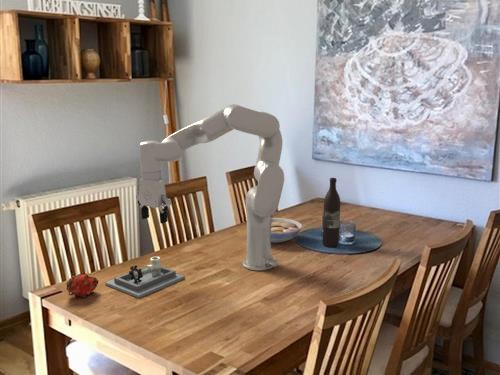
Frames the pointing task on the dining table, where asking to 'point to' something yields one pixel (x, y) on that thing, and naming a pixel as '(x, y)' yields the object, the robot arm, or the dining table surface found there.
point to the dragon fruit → (81, 285)
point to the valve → (147, 270)
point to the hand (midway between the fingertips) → (154, 220)
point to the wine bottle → (331, 216)
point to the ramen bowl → (284, 229)
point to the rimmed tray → (144, 282)
